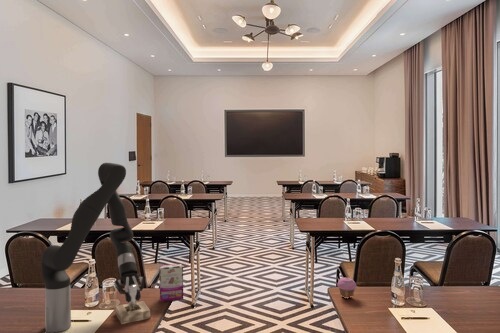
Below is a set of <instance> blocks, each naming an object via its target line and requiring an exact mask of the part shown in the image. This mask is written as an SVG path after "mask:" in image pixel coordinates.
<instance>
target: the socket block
mask: <svg viewBox="0 0 500 333" xmlns="http://www.w3.org/2000/svg"><path fill="white" fill-rule="evenodd" d="M115 315H116V317H117V319H118V320H119V322H120V324H121V325H125V324H129V323H134V322H139V321H143V320H149V319H151V309H150V308H149V307H148V306H147V304H146V303H145V301H144V300H141V301H140V300H139V301H137V310H134V311H129V312H128V303H125V304H120V305H119V304H118V305H115Z"/></svg>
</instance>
